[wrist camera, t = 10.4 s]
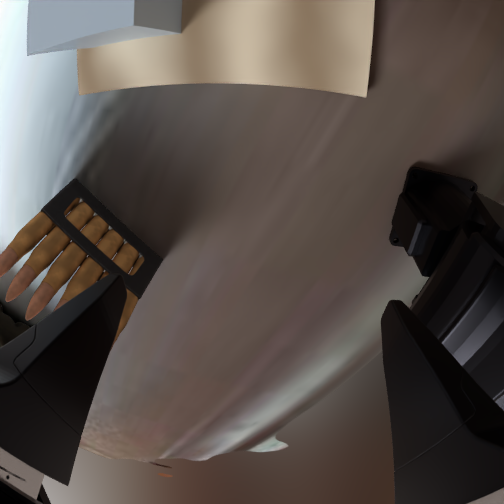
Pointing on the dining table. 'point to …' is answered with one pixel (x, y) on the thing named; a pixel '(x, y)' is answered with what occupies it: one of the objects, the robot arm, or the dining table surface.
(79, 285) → the ammunition clip
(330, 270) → the dining table surface
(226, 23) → the stub board
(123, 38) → the pale grey cube
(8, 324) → the stone bowl
